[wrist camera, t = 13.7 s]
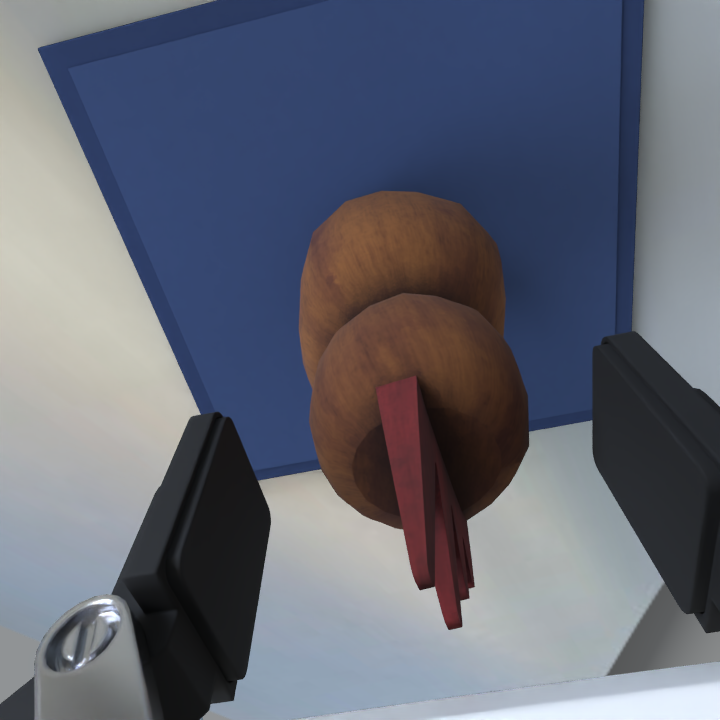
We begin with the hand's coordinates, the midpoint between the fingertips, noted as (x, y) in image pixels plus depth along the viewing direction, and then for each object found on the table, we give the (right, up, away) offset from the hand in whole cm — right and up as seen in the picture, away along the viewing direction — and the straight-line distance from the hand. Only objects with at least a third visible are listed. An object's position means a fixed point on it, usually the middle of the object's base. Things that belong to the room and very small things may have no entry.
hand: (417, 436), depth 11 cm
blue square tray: (0, +5, +9) cm, 11 cm away
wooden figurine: (0, +5, +9) cm, 10 cm away
